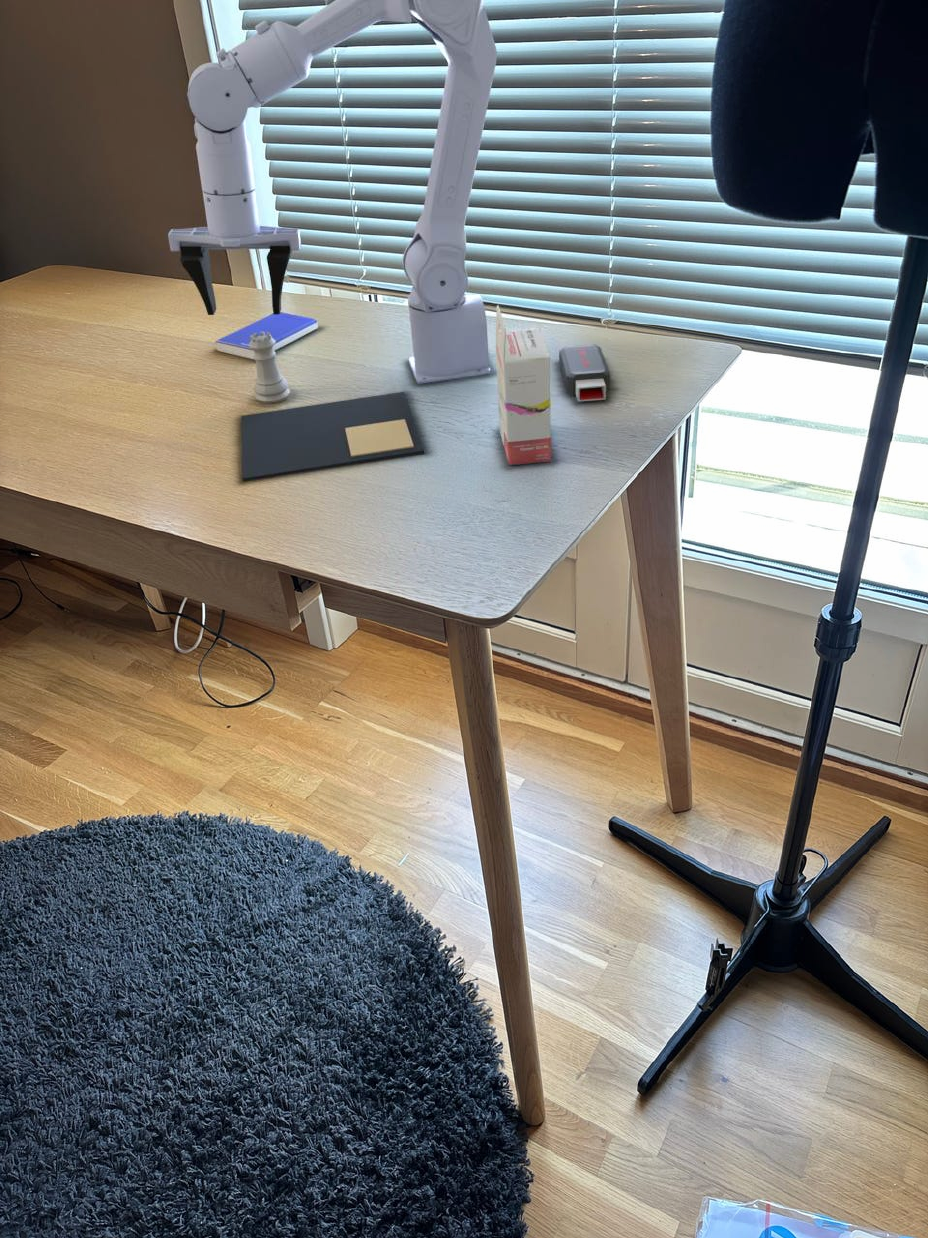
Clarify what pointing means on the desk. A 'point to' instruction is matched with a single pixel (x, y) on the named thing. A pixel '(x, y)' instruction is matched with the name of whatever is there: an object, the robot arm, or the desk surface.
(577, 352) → the usb drive
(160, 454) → the desk surface
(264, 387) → the rook chess piece
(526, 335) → the ink cartridge box
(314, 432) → the desk pad
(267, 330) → the hard drive
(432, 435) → the desk surface
